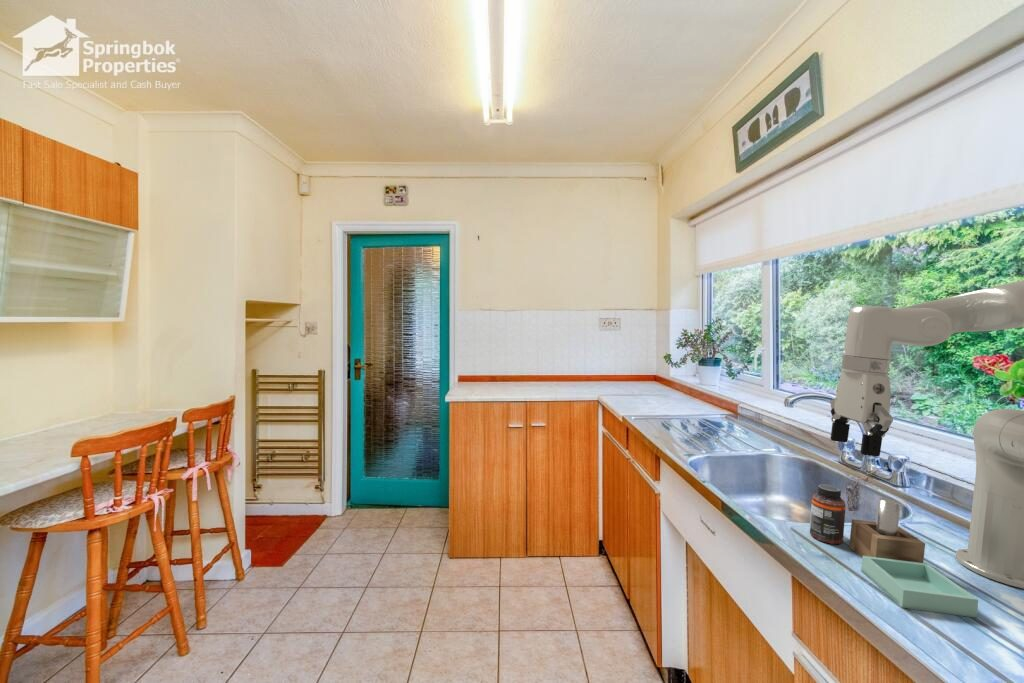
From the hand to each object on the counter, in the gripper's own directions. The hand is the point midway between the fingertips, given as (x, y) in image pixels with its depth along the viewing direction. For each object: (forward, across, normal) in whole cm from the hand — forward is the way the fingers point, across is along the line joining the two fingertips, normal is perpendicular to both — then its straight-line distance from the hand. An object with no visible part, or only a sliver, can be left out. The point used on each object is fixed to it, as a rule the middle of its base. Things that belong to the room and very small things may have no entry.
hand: (853, 447), depth 90 cm
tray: (+21, -15, -3) cm, 26 cm away
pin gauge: (+21, -4, -6) cm, 22 cm away
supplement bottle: (+21, +3, +1) cm, 22 cm away
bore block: (+21, -4, -6) cm, 22 cm away
